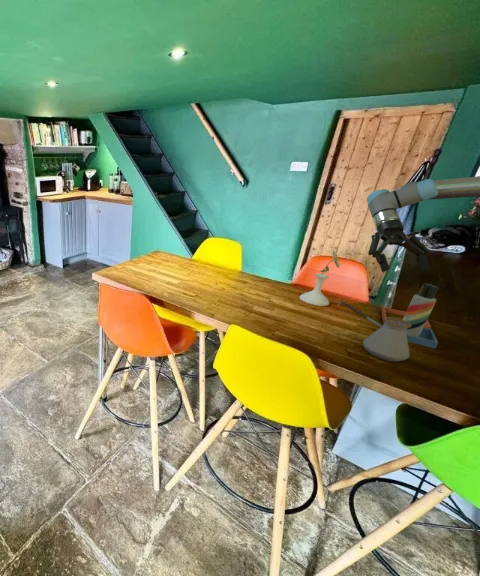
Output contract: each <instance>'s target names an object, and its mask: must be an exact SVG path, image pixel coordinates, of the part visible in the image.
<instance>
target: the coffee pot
mask: <svg viewBox="0 0 480 576" xmlns="http://www.w3.org/2000/svg"><path fill="white" fill-rule="evenodd" d="M341 304H342V305H343V306H345V307H346V308H348V309H350V310H351V311H352V312H353V313H355V314H357V315H358V316H361V317H362V318H364V319H366V320H368V321H369V322H370V323H372V324H374V325H375V326H377V327H378V329H376V330H375V331H374V332H373V333H371V334H370V335H368V336H367V337H366V338H365V339H364V340H363V341H362V345H363V347H364V349H365V351H367V353H369V354H370V355H371V356H373V357H375V358H378V359H381V360H383V361H386V362H387V361H388V362H402V361H403V362H404V361H406V360H407V359H409V357H410V356H411V355H410V347H409V342H408V341H407V334H406V330H407V328H409V327H411V324H410V323H409V322H407V321H404V320H403V318H399V317H392V316H387V317H385V318H384V321H385V324H384V325H383V324H381V323H379V322H378V321H376V320H374V319H373V318H371V317H369V316H368V315H367V314H365V313H363V312H362V311H361V310H360V309H358V308H356V307H354V306H352V305H351V304H350V303H346V302H345V301H343V300H341V301H340V302H339V303H338V304H337V306H340V305H341Z"/></svg>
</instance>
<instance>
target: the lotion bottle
mask: <svg viewBox="0 0 480 576" xmlns="http://www.w3.org/2000/svg"><path fill="white" fill-rule="evenodd" d="M438 290H439V286H436V285H434V284H431V283H426V282H425V283H423V284H422V285H421V288H420V289H419V292H418V293H417V294H414V295H413V297H412V299H411V300H410V303H409V304H408V307H407V309H406V311H405V312H406V314H405V316H403V317H402V320H404V321H407V322H409V323H410V324H411V327H409V328H407V330H406V334H407V335H410V336H415V337H419V335H420V333H421V331H422V329H423V327H424V325H425V323H426V321H427V320H429V317H430V315H431V313H432V311H433V309H434V307H435V305H436V303H437V298H435V296H436V294H437V292H438Z"/></svg>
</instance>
